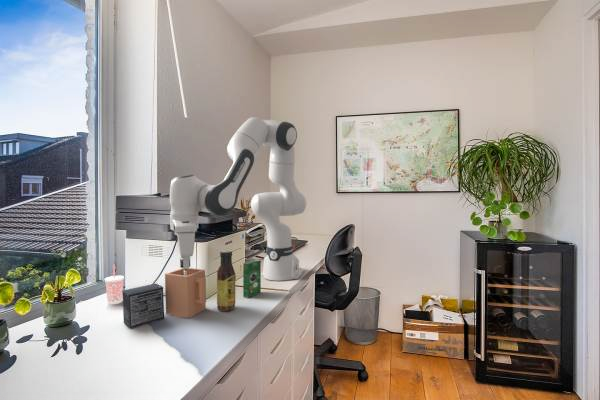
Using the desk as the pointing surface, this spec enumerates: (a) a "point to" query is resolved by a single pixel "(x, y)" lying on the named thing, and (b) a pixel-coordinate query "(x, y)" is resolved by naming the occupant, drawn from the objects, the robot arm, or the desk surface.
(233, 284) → the sauce bottle
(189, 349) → the desk surface
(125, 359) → the desk surface
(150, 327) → the desk surface
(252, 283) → the coffee box
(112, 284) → the beverage cup
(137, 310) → the small box
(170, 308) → the square terracotta mug
